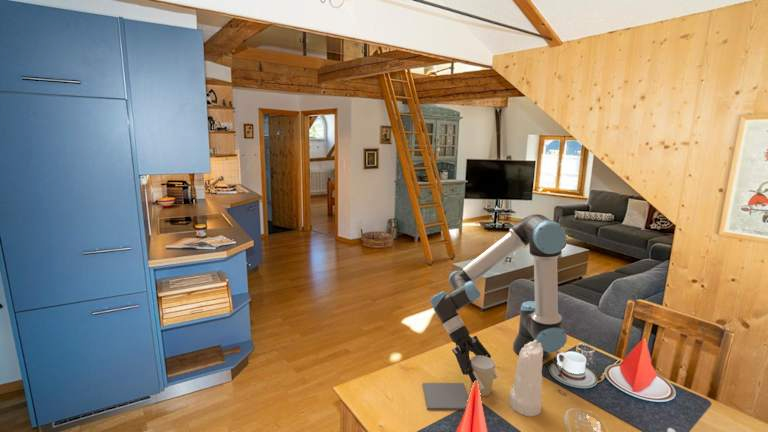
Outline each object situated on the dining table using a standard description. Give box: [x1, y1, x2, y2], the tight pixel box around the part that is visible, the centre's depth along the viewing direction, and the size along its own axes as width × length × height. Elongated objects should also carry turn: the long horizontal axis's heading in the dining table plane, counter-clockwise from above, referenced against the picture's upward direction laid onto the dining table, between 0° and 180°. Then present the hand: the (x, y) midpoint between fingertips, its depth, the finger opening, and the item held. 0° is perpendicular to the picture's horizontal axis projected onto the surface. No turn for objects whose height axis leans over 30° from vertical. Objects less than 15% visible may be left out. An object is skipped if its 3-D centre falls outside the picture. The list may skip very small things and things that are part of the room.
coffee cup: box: [469, 355, 496, 397], centre depth 150 cm, size 9×9×12 cm
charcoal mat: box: [422, 382, 469, 411], centre depth 147 cm, size 16×14×1 cm
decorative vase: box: [508, 340, 544, 417], centre depth 141 cm, size 11×11×25 cm
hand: (488, 383), depth 149 cm, fingers closed on coffee cup, 9 cm apart
